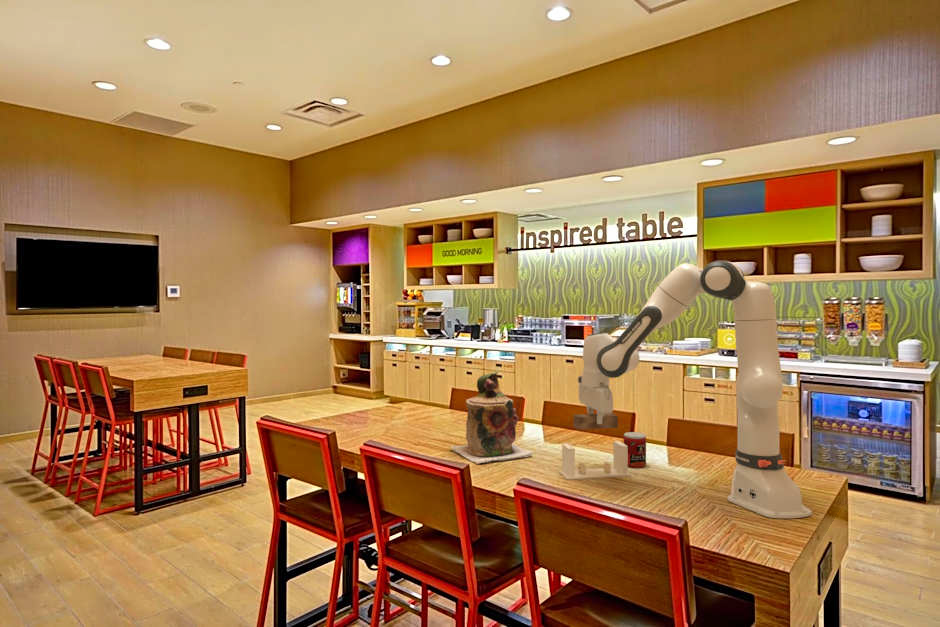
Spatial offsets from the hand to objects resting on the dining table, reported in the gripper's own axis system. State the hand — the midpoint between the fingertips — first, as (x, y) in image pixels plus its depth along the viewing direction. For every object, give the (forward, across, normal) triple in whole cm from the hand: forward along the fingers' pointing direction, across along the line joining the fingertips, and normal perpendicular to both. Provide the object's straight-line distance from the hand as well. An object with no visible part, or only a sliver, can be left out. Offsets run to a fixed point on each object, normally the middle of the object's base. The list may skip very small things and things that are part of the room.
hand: (595, 421), depth 197 cm
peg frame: (+18, 0, 0) cm, 18 cm away
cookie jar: (+19, +34, +27) cm, 48 cm away
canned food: (+18, +8, -19) cm, 27 cm away
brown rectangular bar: (+2, 0, 0) cm, 2 cm away
